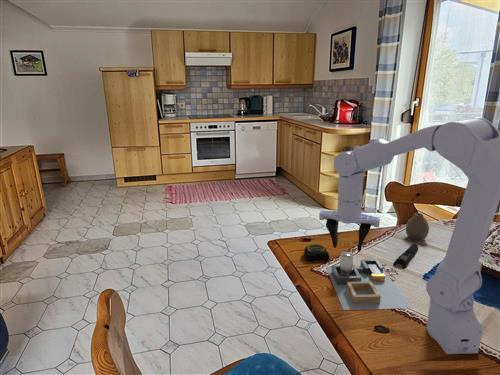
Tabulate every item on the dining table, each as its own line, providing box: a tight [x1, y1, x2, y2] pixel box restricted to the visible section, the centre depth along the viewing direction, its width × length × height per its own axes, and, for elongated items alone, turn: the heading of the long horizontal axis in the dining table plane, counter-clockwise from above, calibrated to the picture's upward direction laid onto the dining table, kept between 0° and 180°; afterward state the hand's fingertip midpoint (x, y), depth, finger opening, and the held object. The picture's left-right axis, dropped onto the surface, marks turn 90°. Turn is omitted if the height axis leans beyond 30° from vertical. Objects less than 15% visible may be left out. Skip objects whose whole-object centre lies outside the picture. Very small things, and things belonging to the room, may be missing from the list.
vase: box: [405, 212, 430, 242], centre depth 109 cm, size 7×7×9 cm
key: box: [367, 264, 385, 282], centre depth 88 cm, size 6×3×2 cm, turn 179°
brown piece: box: [347, 281, 381, 304], centre depth 80 cm, size 6×6×2 cm
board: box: [325, 265, 412, 311], centre depth 85 cm, size 19×16×1 cm
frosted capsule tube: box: [339, 251, 354, 276], centre depth 87 cm, size 3×3×7 cm
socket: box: [331, 258, 384, 285], centre depth 89 cm, size 9×13×2 cm
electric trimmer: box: [392, 243, 419, 270], centre depth 97 cm, size 4×15×3 cm, turn 138°
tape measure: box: [303, 243, 330, 263], centre depth 100 cm, size 7×7×4 cm
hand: (347, 248), depth 85 cm, fingers open, 5 cm apart
